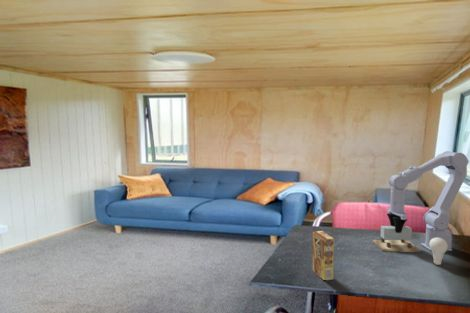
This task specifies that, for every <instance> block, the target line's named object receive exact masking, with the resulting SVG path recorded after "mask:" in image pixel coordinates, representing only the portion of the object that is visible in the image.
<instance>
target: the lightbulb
mask: <svg viewBox="0 0 470 313" xmlns="http://www.w3.org/2000/svg"><path fill="white" fill-rule="evenodd" d="M429 246H430V249H431V250H430V251H431V252H432V258H433V263H434V264H435V265H436V266H440V265H441V264H442V261H443V257H444V254H445V253H446V252H447V251H446V250H447V248H448V245H447V243H446V241H445V240H444V239H442V238H438V237H436V238H433V239H431V240H430V242H429Z"/></svg>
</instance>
